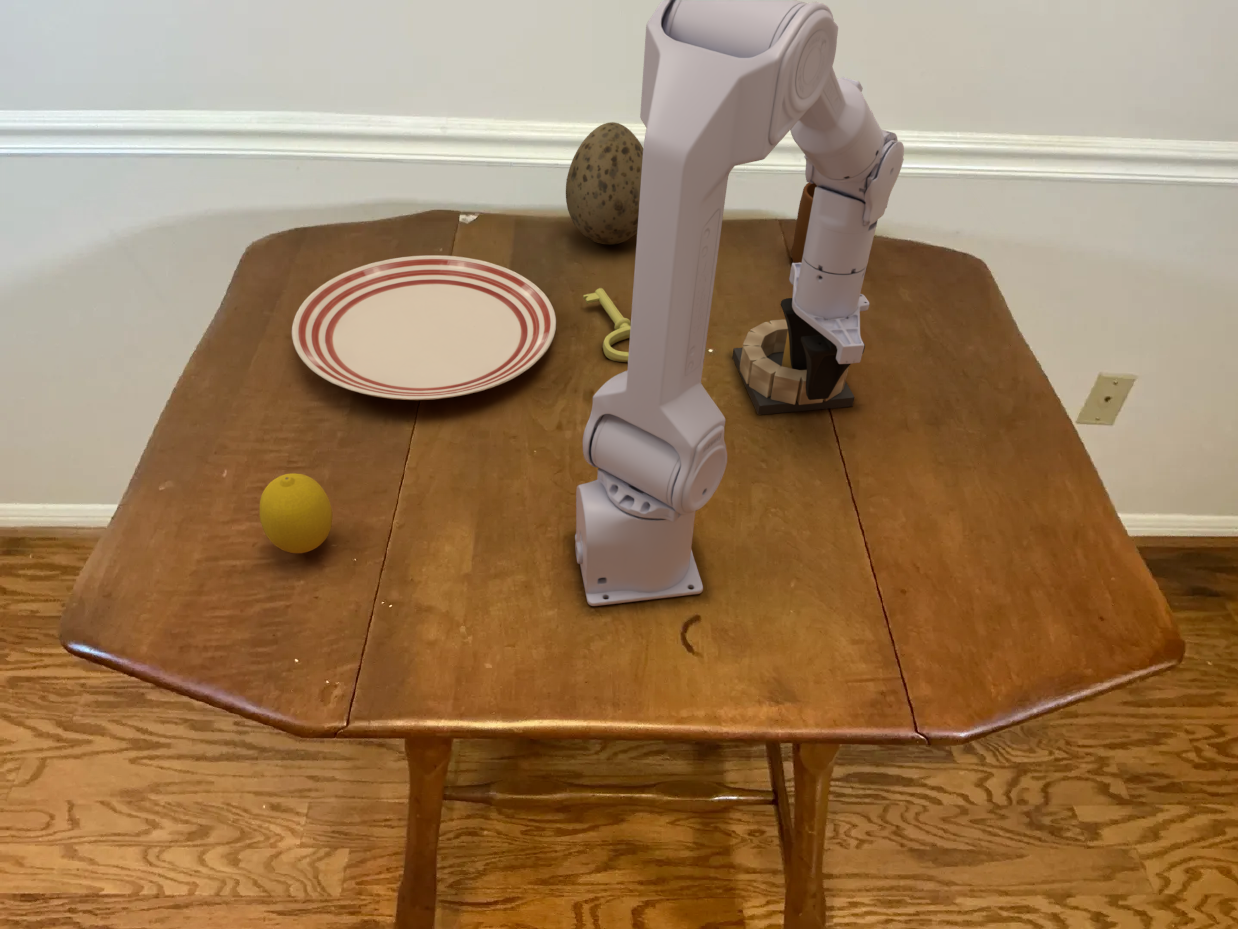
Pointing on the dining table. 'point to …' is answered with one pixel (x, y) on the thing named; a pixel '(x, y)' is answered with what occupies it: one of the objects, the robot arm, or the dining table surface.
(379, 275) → the dinner plate
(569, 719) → the dining table surface
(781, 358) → the peg stand
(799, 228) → the mug
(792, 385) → the ring
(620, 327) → the key
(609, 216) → the decorative egg
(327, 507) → the lemon
